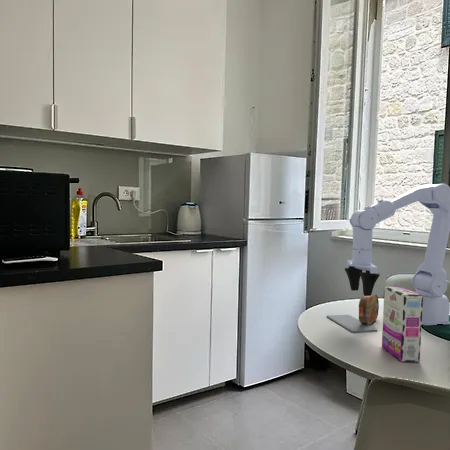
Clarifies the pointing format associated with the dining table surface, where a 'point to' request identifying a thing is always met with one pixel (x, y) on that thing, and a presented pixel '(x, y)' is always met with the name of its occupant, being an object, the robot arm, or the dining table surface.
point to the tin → (368, 309)
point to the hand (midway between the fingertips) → (360, 292)
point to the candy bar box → (402, 323)
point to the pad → (351, 323)
